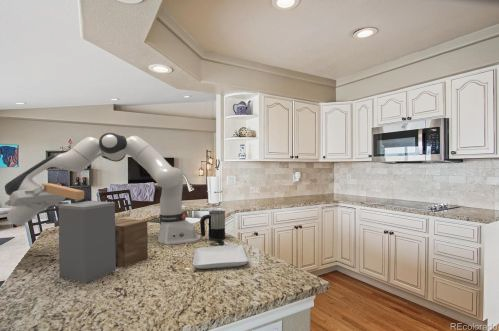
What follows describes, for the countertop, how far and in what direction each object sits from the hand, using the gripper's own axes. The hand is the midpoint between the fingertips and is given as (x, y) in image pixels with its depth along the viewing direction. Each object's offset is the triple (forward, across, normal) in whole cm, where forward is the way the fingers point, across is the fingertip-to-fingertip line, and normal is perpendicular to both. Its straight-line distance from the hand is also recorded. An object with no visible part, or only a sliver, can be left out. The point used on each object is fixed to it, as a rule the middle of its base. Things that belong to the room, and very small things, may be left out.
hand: (50, 186), depth 108 cm
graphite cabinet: (+4, 0, +39) cm, 39 cm away
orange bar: (+5, 0, +6) cm, 8 cm away
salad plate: (+36, +30, +58) cm, 75 cm away
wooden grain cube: (+4, +16, +39) cm, 42 cm away
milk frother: (+22, +55, +50) cm, 78 cm away
